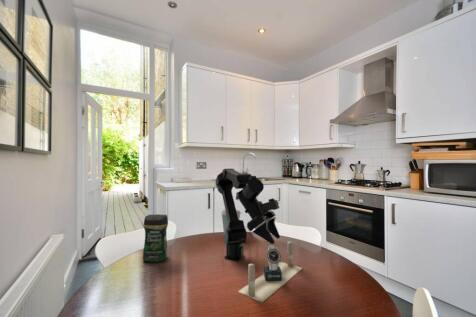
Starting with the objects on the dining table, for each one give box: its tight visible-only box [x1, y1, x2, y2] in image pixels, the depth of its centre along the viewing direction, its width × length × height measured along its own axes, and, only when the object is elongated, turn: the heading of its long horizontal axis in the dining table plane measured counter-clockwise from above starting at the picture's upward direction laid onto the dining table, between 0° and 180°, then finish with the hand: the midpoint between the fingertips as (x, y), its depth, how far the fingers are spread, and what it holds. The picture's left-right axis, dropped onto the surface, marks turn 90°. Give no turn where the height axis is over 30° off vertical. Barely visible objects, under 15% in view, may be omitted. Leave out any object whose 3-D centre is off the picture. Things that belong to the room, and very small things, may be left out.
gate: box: [238, 241, 303, 304], centre depth 81 cm, size 9×28×10 cm, turn 141°
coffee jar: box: [142, 213, 169, 263], centre depth 98 cm, size 10×8×19 cm
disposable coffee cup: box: [220, 208, 242, 235], centre depth 128 cm, size 11×11×15 cm
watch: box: [263, 244, 283, 281], centre depth 81 cm, size 6×8×11 cm
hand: (276, 240), depth 82 cm, fingers open, 9 cm apart
